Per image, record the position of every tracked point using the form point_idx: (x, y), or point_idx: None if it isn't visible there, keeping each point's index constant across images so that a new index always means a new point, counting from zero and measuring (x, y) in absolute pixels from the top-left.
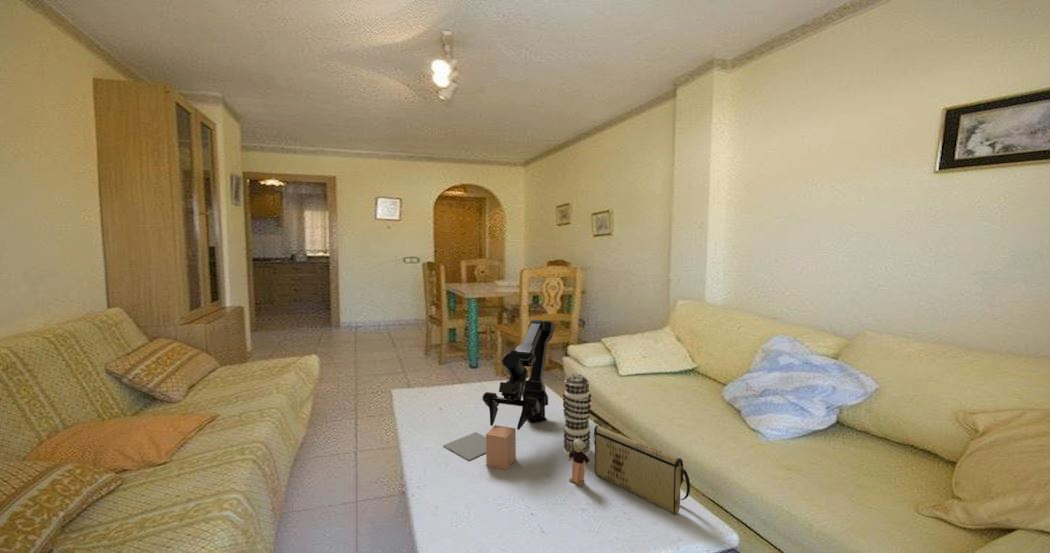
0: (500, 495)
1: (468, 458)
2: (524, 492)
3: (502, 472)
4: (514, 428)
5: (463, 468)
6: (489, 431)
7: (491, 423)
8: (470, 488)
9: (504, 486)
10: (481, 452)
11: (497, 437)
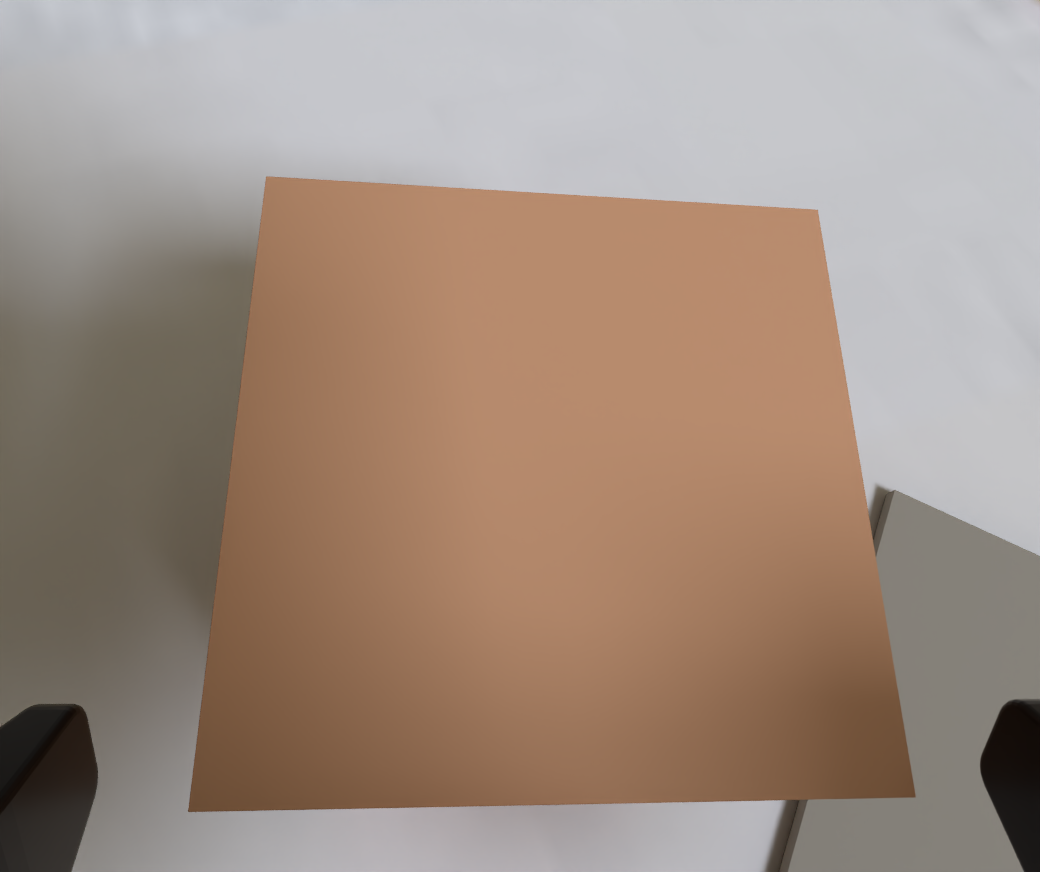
0: (263, 26)
1: (919, 517)
2: (31, 106)
3: None
4: (217, 776)
5: (841, 335)
6: (828, 361)
7: (1037, 714)
8: (578, 60)
9: (270, 150)
10: None
11: (520, 207)
